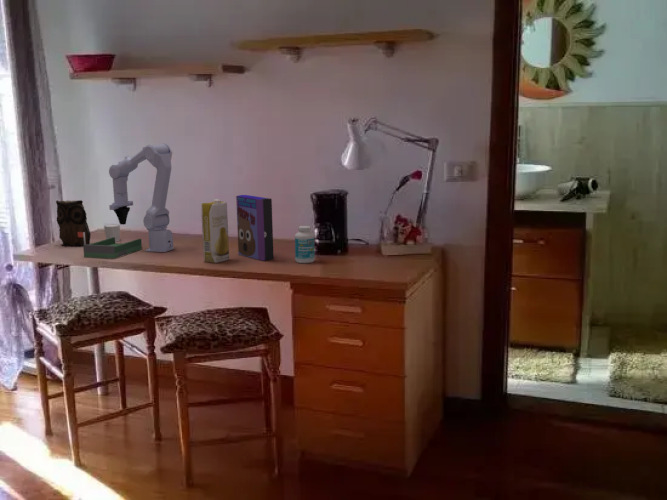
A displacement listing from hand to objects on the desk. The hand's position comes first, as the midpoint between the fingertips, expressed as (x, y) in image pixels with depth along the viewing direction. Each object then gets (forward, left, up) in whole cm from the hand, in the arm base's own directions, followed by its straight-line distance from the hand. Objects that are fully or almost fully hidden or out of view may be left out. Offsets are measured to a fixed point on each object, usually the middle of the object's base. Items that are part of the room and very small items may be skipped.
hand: (122, 224), depth 325 cm
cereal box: (-66, +8, -10) cm, 67 cm away
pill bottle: (-88, +11, -10) cm, 89 cm away
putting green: (-4, +15, -9) cm, 18 cm away
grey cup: (+12, -9, -10) cm, 18 cm away
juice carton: (-54, +18, -10) cm, 58 cm away
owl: (+22, +2, -10) cm, 24 cm away
